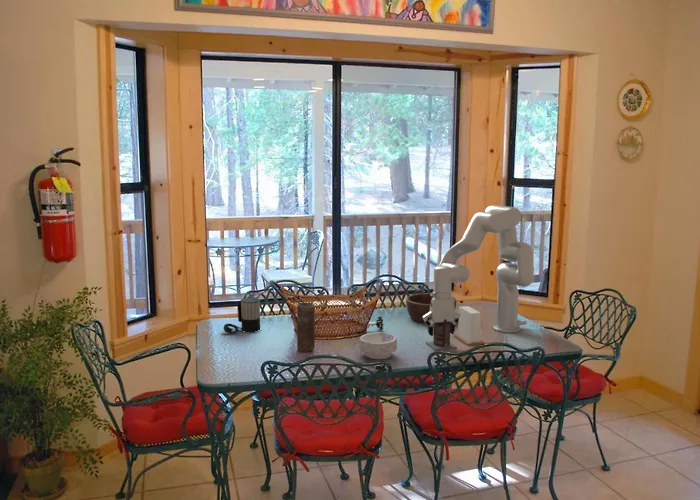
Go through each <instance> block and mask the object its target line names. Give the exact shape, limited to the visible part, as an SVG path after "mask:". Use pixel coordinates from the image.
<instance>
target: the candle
mask: <svg viewBox="0 0 700 500" xmlns="http://www.w3.org/2000/svg"><path fill="white" fill-rule="evenodd" d="M296 306H297V307H296V308H297V314H296V315H297V317H296V319H297V326H296V327H297V328H296V329H297V333H296V335H297V338H296V339H297V341H296V342H297V343H296V345H297V346H296V347H297V351H298V352H305V353H306V352H311V351H314V349H315V347H316V344H315V343H316V340H315V339H316V338H315V337H316V335H315V328H316V327H315V326H316V324H315V320H316V319H315V304H313V303H309V302H306V301H305V302H298V303H297V305H296Z"/></svg>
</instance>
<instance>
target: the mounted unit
mask: <svg viewBox="0 0 700 500" xmlns="http://www.w3.org/2000/svg"><path fill="white" fill-rule="evenodd" d="M458 313H459V314H461V316H460V318H459V321H458V331H457V333H456V334H455V333H454V334H453V338H455V339H456V340H458V341H460V342H461V343H462V344H464V345H465V346H467V347H469V346H470V347H471V346H482V345H481V344H484V345H485V341H483V340H482V339H481V317H482V316H481V315H482V314H481V312H480V311H478V310H477V309H474V308H473V307H470V306H469V305H467V306H464V305H463V306H459V307H458Z"/></svg>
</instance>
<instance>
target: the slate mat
mask: <svg viewBox="0 0 700 500" xmlns="http://www.w3.org/2000/svg"><path fill="white" fill-rule="evenodd" d="M425 344H426V345H427V346H428V347H429V348H431V349H433V351H446V350H455V349H457V346H456V345H455V344H452V343H451V342H450V345H448V346H446V347H444V346H440V345H436V344H433V341H425Z"/></svg>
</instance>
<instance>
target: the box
mask: <svg viewBox="0 0 700 500" xmlns="http://www.w3.org/2000/svg"><path fill="white" fill-rule="evenodd" d="M450 323H451V322H447V319H444V322H442V323H434V324H433V339H432V340H433V341H432V342H433V344H436V345H440V346H444V347H446V346H448V345H450V343H451V333H450Z"/></svg>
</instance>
